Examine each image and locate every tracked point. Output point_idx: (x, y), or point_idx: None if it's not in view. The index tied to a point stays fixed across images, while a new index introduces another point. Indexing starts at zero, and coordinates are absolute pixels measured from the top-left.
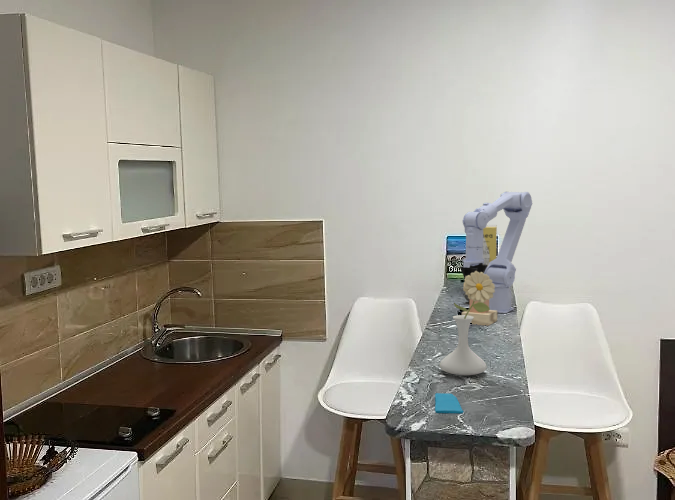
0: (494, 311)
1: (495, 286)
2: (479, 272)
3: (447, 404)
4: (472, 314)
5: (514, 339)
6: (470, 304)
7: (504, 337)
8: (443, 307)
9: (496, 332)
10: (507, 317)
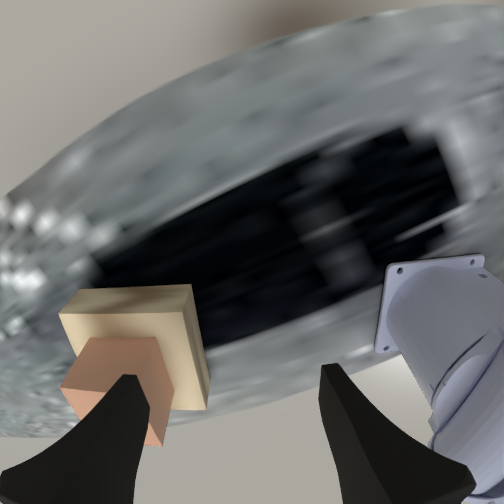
0: (179, 407)
1: (436, 397)
2: (347, 489)
3: None
4: (78, 353)
5: (53, 436)
6: (76, 365)
7: (48, 422)
8: (400, 31)
9: (67, 406)
10: (303, 379)
